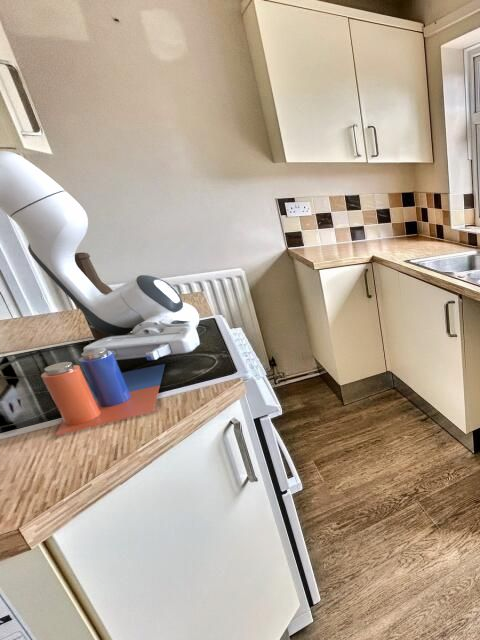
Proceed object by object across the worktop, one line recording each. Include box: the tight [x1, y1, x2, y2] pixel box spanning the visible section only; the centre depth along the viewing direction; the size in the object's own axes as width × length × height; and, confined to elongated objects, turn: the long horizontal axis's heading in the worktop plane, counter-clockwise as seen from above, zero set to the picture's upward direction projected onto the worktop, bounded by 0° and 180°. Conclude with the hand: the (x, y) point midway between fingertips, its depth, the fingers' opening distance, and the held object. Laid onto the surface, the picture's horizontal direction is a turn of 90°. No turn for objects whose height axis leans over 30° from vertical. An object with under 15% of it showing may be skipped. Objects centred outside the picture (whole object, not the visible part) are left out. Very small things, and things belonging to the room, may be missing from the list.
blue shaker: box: [78, 348, 131, 407], centre depth 84 cm, size 5×5×11 cm
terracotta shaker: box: [40, 361, 101, 425], centre depth 78 cm, size 5×5×11 cm
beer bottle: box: [75, 252, 131, 342], centre depth 115 cm, size 8×8×24 cm
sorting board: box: [54, 363, 166, 437], centre depth 88 cm, size 14×26×1 cm, turn 33°
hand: (124, 359), depth 90 cm, fingers open, 8 cm apart
